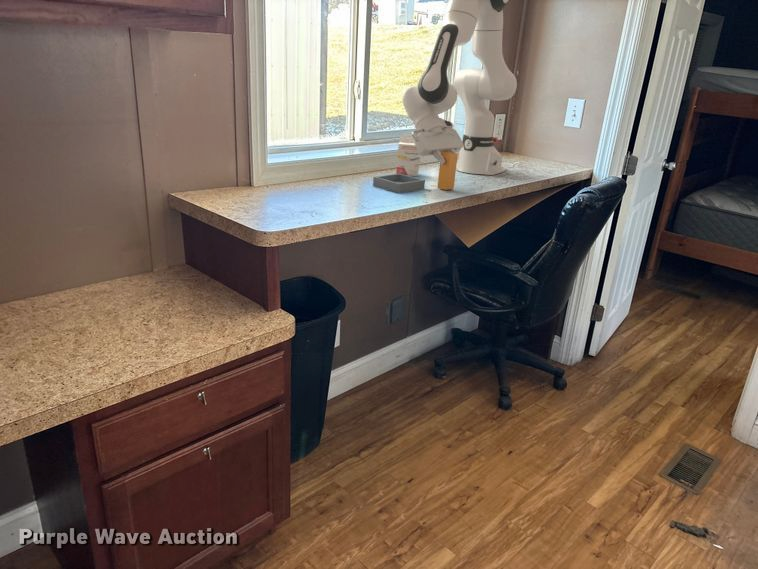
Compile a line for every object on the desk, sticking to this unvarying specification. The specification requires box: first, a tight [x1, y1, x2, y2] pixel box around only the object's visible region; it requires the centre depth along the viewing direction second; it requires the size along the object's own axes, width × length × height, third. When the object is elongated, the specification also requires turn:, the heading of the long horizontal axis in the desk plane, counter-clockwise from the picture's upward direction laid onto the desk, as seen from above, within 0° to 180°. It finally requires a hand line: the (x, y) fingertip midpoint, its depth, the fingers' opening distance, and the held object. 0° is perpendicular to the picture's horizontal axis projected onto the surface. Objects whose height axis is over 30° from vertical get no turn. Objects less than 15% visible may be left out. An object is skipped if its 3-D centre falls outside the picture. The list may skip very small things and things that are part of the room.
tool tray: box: [372, 173, 426, 194], centre depth 193 cm, size 13×13×3 cm
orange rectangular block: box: [437, 152, 458, 191], centre depth 192 cm, size 4×4×12 cm
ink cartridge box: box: [395, 133, 421, 177], centre depth 212 cm, size 9×5×15 cm, turn 84°
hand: (449, 162), depth 190 cm, fingers closed on orange rectangular block, 4 cm apart
